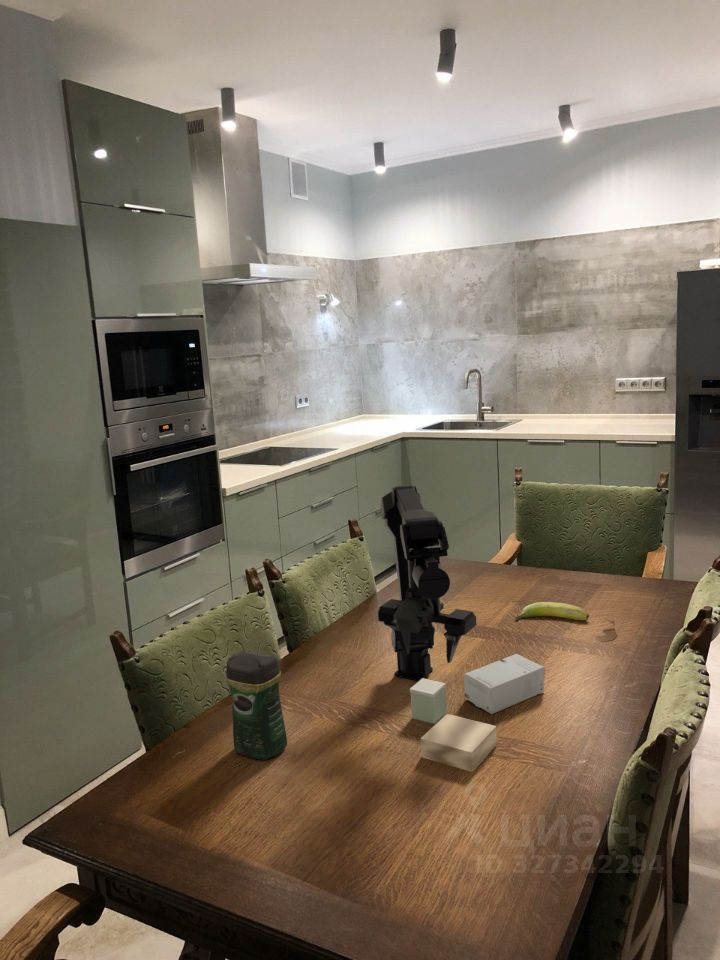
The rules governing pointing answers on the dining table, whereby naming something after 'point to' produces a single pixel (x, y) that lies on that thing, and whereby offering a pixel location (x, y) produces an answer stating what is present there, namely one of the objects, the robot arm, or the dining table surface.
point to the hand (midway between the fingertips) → (428, 658)
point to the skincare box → (504, 683)
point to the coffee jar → (256, 705)
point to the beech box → (459, 742)
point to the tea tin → (428, 700)
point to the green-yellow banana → (564, 615)
